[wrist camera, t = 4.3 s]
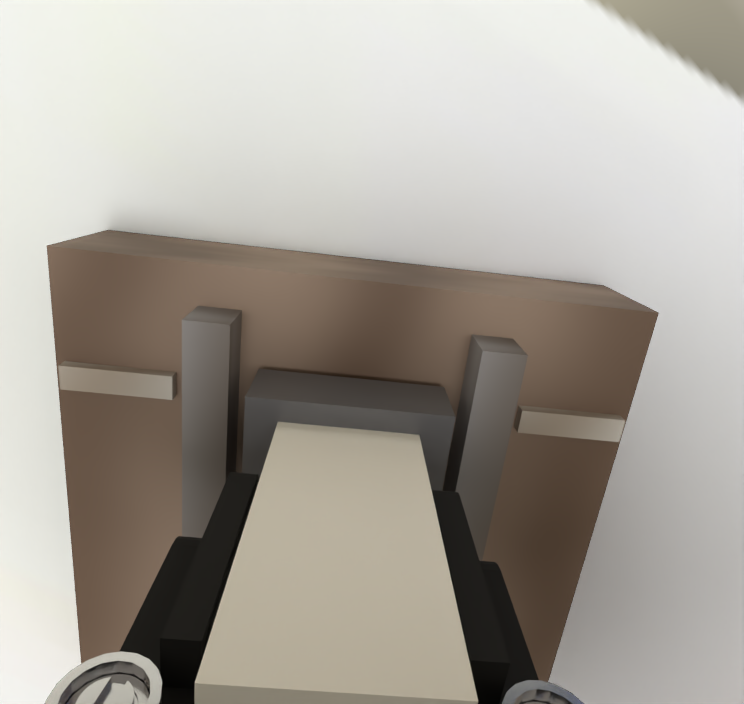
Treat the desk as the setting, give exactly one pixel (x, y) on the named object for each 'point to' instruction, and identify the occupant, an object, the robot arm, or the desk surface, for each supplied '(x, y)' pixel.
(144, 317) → the brown slider board
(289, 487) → the fader tab
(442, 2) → the desk surface
